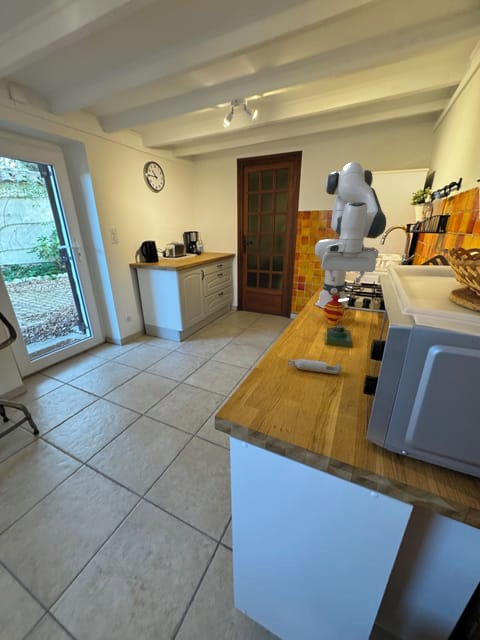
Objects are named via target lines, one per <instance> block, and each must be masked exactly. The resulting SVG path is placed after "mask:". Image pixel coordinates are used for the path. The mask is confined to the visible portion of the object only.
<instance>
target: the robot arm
mask: <svg viewBox="0 0 480 640" xmlns="http://www.w3.org/2000/svg"><path fill="white" fill-rule="evenodd" d="M373 182H374V176H373V173H372V171H371V170H369V169H363V167H362V165H361V164H360V163H359V162H357V161H352V162H349V163H347V164H346V165H344V166H343V168H342V170H341V171H331V172H330V173H329V174H328V175H327V177H326V180H325V182H324V187H325V191H326V193H327V194H328V195H332V196H334V195H336V196H335V199H334V203H333V208H332V213H331V222H330V228H331V229H332V231H334V232H335V233H336V235H338V236H339V238H326V239H320V240H319V241H317V243H316V244H315V245H314V254H315V255H316V257H317V258H318V259H319V260H320V261H321V265H320V269H321V270H322V271H325V272H324V282H323V285H322V290H321V291H320V292H319V295H318V300H317V301H316V302H315V306H317V307H319V308H321V309H324V306H325V305H326V304H327V303H328V302H330V301H333V298H331V297H332V293H339V294H341V295H340V299H339V300H338V301H340V302H341V303H343V306H344V309H348V308H349V305H348V303H346V302H347V301H349V300H350V298H349V297H348V298H347V293H346V292H345V289H346V284H345V283H346V276H347V272H359V274H360V275H359V276H358V277H356V278H355V281H354V283H355V284H360V283H361V279H362V278H363V277H364V276H365V273H373V272H375V271H376V268H377V267H376V265H377V259H378V257H379V250H378V249H377V248H376V247H373V246H372V247H367V246H365V244H364V241H365V240H364V238H366V239H373V240H375V239H377V238H378V237H381V235H383V234H384V233H385V231H386V228H387V216H386V214H385V212H384V211H383V210H382V207H381V203H380V200H379V198H378V195H377V193H376V190H375V188H373V187H372V185H373Z"/></svg>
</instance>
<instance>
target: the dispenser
mask: <svg viewBox="0 0 480 640" xmlns="http://www.w3.org/2000/svg"><path fill="white" fill-rule="evenodd" d="M325 329H326V331H325V345H326V346H332V347H333V346H334V347H341V348H352V346H353V337H352V334H351V333H352V332H351V329H347V328H346V327H344V332H338V331H335V326H333V327H326V328H325Z"/></svg>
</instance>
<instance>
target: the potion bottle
mask: <svg viewBox="0 0 480 640" xmlns="http://www.w3.org/2000/svg"><path fill="white" fill-rule="evenodd" d="M340 295H341V294H339V293H332V297H331V298H333V301H330V302H328V303H327V304H326V305H325V306H324V308H323V310H322V311H323V314H324V316H325V318H326V319H327V321H326V322H327V323H328V324H331V325H338V323H339V320H341V319H342V318H343V317H344V314H345V308H344V306H343V303H341V302H340V301H338V300H339V299H340Z"/></svg>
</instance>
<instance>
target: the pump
mask: <svg viewBox="0 0 480 640" xmlns="http://www.w3.org/2000/svg"><path fill="white" fill-rule="evenodd" d="M334 327H335V331H338V332H344V328H345V326H344V325H342V324H335V325H334Z"/></svg>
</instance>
